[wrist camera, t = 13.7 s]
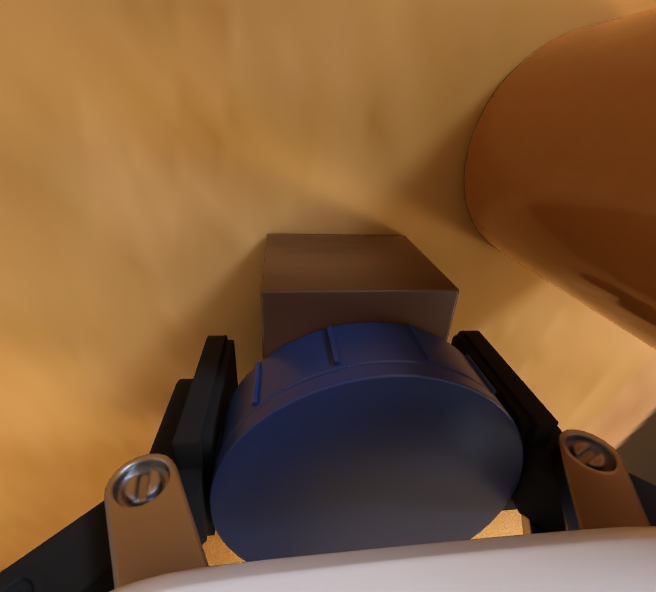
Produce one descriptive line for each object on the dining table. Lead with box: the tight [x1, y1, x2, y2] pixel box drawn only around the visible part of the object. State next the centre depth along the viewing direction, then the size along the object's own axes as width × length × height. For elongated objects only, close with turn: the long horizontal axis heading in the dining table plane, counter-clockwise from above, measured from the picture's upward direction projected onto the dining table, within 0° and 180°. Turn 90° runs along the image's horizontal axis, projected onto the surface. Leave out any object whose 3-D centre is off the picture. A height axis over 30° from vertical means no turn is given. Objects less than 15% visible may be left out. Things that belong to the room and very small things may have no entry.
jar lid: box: [209, 322, 524, 562], centre depth 9 cm, size 7×7×2 cm
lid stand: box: [261, 234, 459, 360], centre depth 11 cm, size 9×4×4 cm, turn 177°
